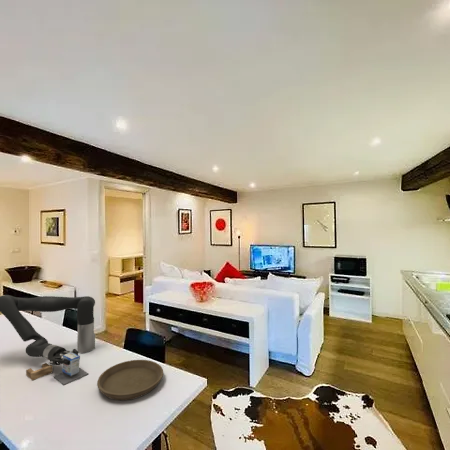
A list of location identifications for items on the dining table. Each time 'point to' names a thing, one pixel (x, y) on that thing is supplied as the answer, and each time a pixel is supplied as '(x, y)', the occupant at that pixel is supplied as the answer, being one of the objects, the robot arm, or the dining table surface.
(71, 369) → the medicine box
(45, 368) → the bracket
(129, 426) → the dining table surface
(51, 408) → the dining table surface
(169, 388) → the dining table surface
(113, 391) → the plant saucer
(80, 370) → the mat
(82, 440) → the dining table surface
